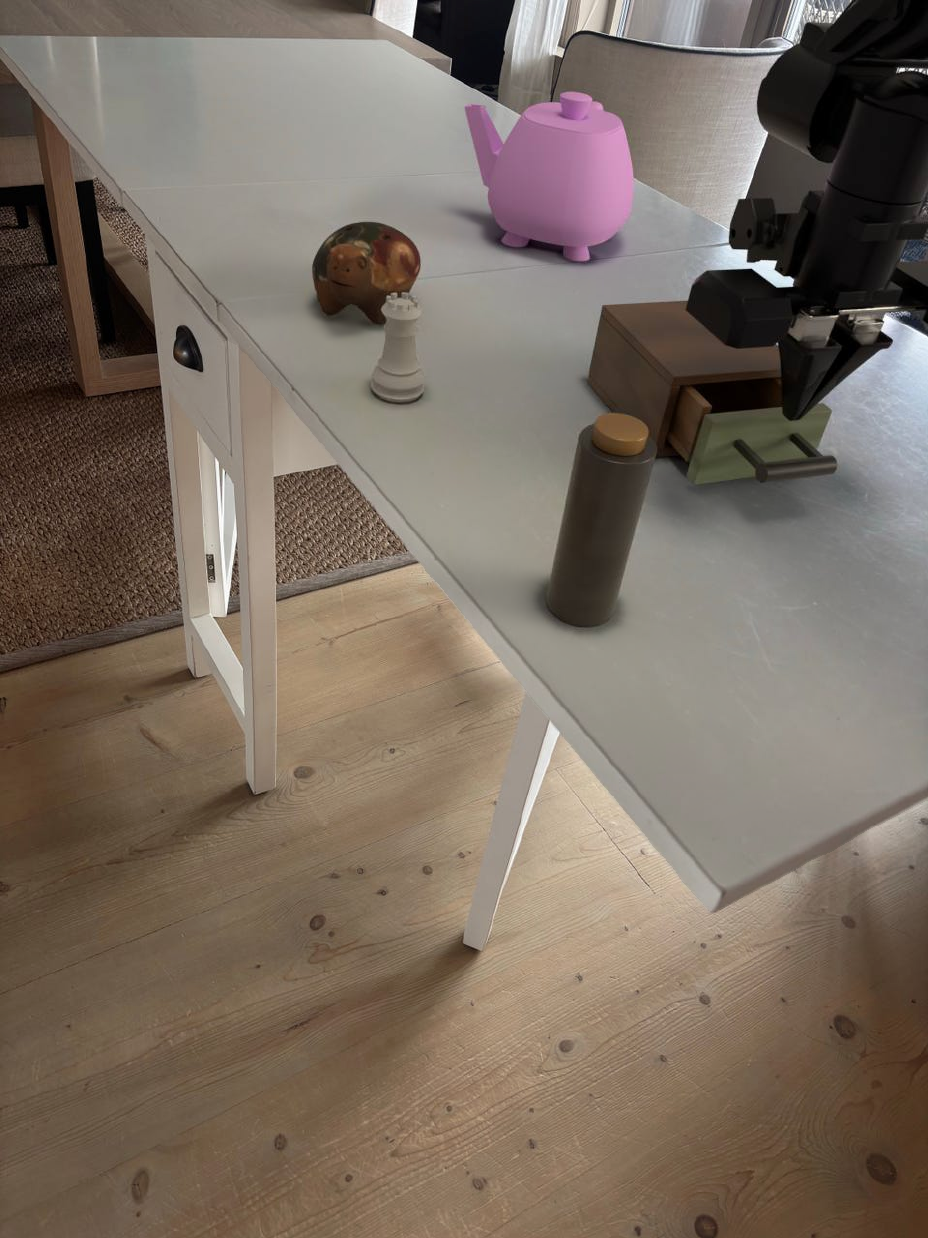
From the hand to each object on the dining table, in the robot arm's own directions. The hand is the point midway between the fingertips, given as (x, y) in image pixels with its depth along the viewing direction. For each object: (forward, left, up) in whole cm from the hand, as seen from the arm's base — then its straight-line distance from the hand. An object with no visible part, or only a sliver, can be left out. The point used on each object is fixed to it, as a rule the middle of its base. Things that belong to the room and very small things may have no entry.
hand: (790, 417), depth 67 cm
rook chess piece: (+26, +16, -7) cm, 32 cm away
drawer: (+5, -1, -6) cm, 8 cm away
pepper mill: (-2, +20, -7) cm, 22 cm away
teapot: (+51, -20, -7) cm, 55 cm away
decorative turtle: (+41, +10, -7) cm, 43 cm away
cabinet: (+13, -4, -7) cm, 15 cm away
